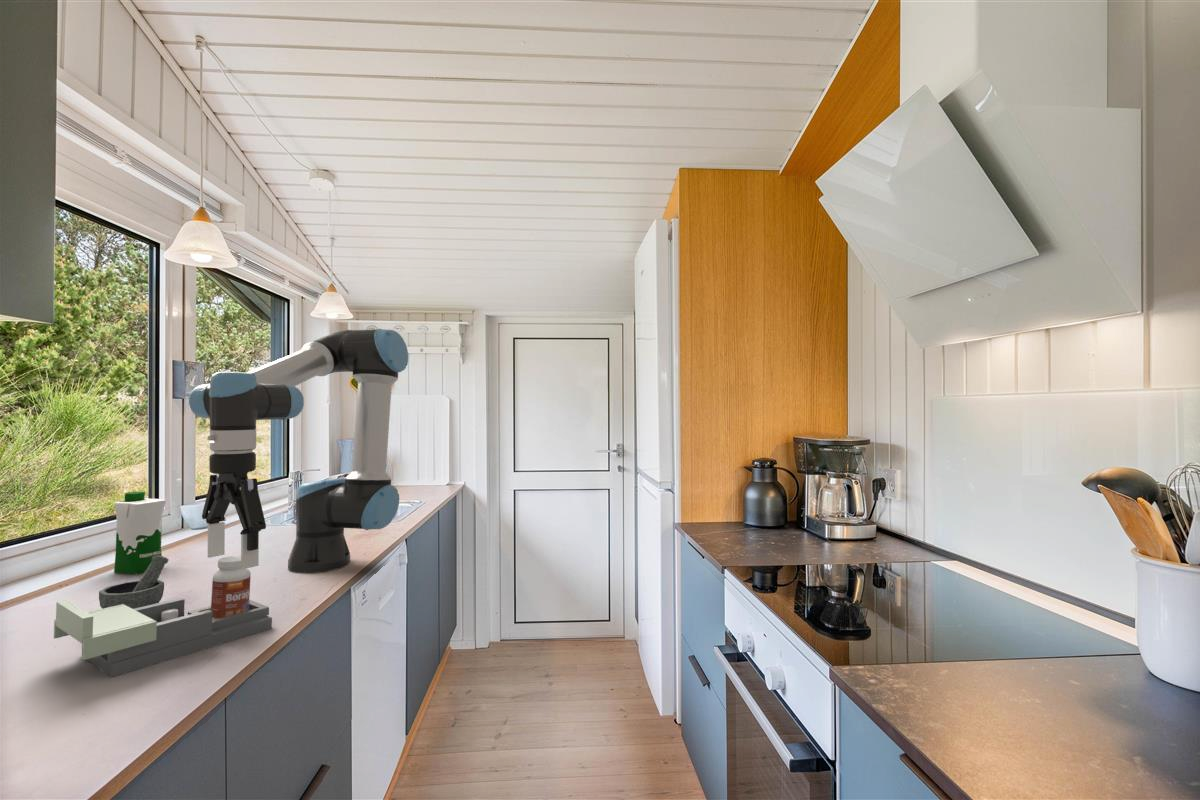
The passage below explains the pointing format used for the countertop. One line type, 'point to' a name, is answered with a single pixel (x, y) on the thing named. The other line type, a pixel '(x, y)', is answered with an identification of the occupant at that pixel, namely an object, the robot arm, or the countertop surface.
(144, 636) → the cover
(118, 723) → the countertop surface
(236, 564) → the pill bottle
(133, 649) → the housing base
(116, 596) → the mortar and pestle
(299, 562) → the robot arm
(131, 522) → the milk carton
